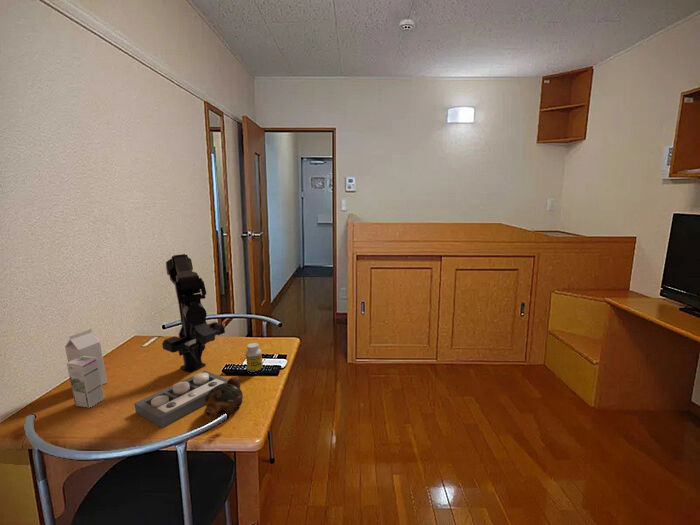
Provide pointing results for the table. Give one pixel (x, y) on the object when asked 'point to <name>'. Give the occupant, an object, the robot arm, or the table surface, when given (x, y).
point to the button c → (201, 379)
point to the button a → (159, 401)
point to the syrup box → (85, 381)
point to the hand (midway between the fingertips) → (198, 361)
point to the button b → (181, 388)
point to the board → (177, 401)
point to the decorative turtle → (224, 397)
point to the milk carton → (86, 349)
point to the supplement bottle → (253, 357)
